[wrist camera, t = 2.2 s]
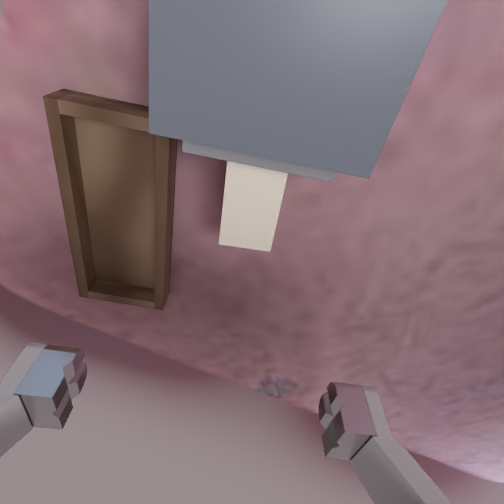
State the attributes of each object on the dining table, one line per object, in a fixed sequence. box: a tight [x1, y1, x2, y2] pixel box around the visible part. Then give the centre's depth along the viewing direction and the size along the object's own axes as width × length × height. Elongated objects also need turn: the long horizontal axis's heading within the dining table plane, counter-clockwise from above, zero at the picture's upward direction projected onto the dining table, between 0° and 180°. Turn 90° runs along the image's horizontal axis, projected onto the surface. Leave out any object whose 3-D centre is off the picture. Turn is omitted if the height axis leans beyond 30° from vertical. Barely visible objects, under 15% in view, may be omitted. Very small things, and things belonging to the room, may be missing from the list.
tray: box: [43, 89, 177, 310], centre depth 22 cm, size 6×14×2 cm, turn 169°
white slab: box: [219, 161, 288, 252], centre depth 17 cm, size 3×11×5 cm, turn 172°
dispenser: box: [149, 0, 447, 182], centre depth 14 cm, size 9×7×6 cm
